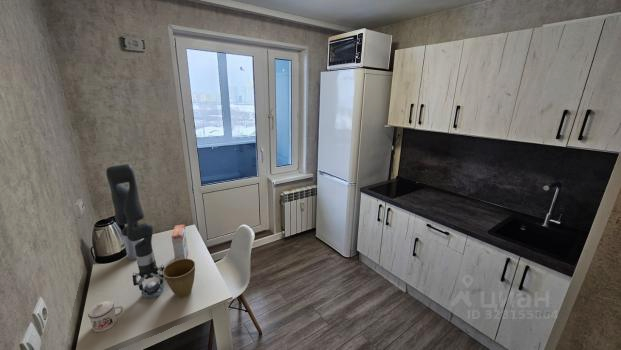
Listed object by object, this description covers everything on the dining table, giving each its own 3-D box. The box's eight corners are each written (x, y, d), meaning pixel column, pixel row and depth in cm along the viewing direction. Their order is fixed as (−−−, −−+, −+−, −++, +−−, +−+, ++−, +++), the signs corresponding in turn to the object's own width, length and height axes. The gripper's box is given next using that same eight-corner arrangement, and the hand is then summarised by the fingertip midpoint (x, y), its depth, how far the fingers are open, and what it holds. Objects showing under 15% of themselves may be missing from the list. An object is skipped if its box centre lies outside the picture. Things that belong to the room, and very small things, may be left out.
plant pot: (169, 287, 138) (164, 262, 133) (199, 280, 143) (195, 256, 139) (165, 307, 125) (160, 280, 120) (198, 298, 130) (194, 272, 125)
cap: (147, 291, 135) (145, 282, 133) (159, 287, 138) (157, 279, 136) (146, 298, 130) (144, 289, 129) (159, 294, 133) (157, 285, 131)
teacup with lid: (91, 336, 109) (84, 315, 106) (94, 321, 116) (88, 301, 113) (124, 324, 115) (119, 303, 112) (126, 310, 123) (121, 291, 119)
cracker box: (186, 264, 157) (181, 234, 151) (175, 266, 155) (170, 236, 149) (189, 251, 170) (184, 223, 163) (179, 253, 168) (174, 225, 162)
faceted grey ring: (142, 290, 136) (142, 286, 135) (163, 283, 140) (162, 280, 139) (141, 302, 128) (140, 298, 127) (163, 295, 132) (162, 291, 131)
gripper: (162, 252, 135) (167, 278, 139) (130, 260, 128) (136, 287, 132) (162, 260, 128) (167, 286, 133) (128, 269, 122) (135, 296, 126)
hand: (151, 286), depth 133 cm, fingers open, 8 cm apart
